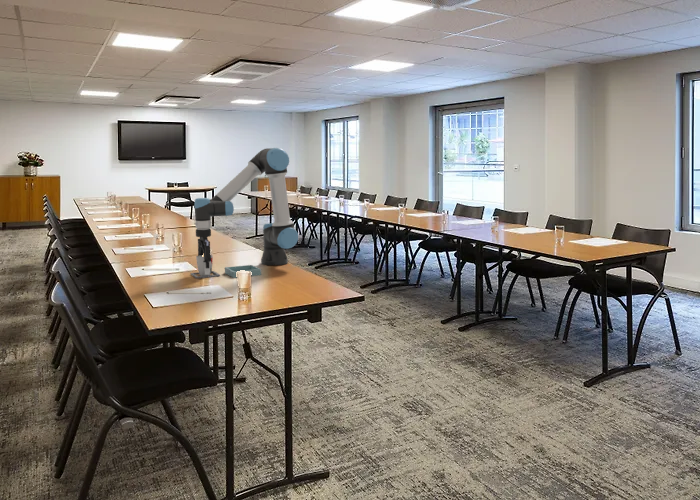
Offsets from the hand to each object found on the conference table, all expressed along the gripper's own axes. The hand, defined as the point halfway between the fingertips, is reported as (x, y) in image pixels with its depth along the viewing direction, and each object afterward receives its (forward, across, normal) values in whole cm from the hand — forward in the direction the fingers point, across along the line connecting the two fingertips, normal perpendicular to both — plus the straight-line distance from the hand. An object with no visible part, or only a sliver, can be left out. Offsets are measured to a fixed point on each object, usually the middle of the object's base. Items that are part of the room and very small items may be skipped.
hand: (205, 273), depth 299 cm
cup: (+1, 0, 0) cm, 1 cm away
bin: (+1, +6, +18) cm, 19 cm away
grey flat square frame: (+1, 0, 0) cm, 1 cm away
